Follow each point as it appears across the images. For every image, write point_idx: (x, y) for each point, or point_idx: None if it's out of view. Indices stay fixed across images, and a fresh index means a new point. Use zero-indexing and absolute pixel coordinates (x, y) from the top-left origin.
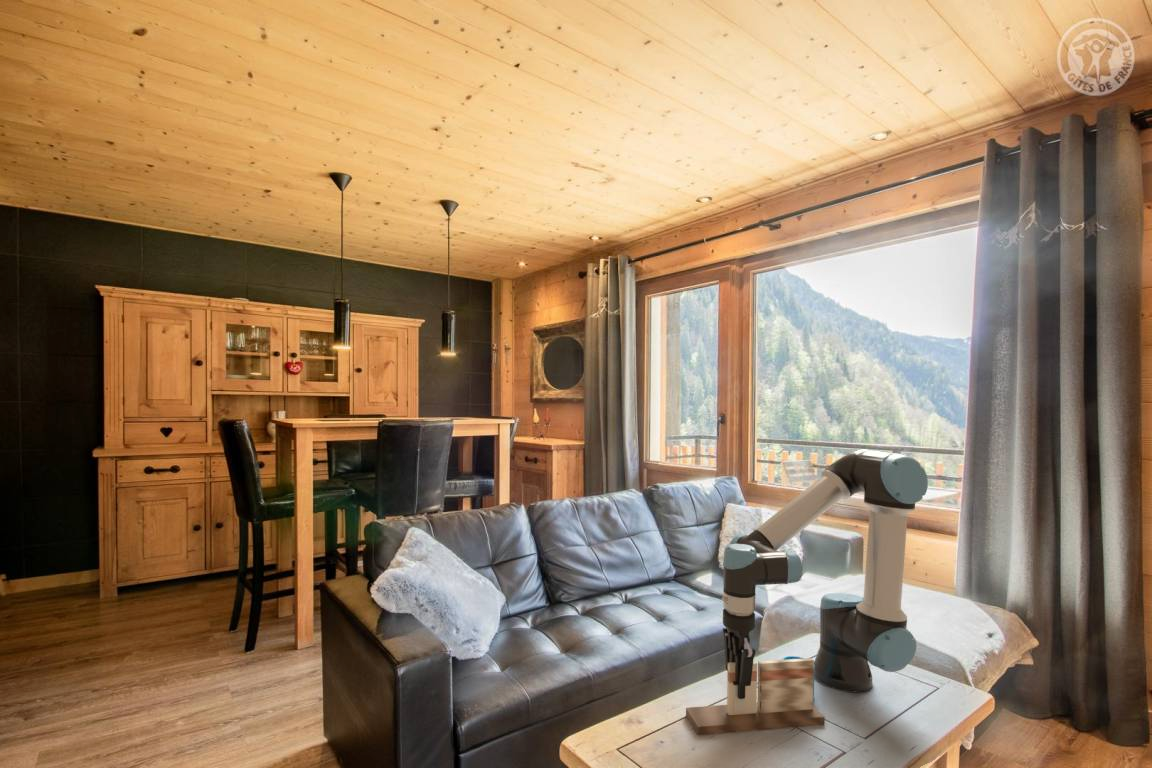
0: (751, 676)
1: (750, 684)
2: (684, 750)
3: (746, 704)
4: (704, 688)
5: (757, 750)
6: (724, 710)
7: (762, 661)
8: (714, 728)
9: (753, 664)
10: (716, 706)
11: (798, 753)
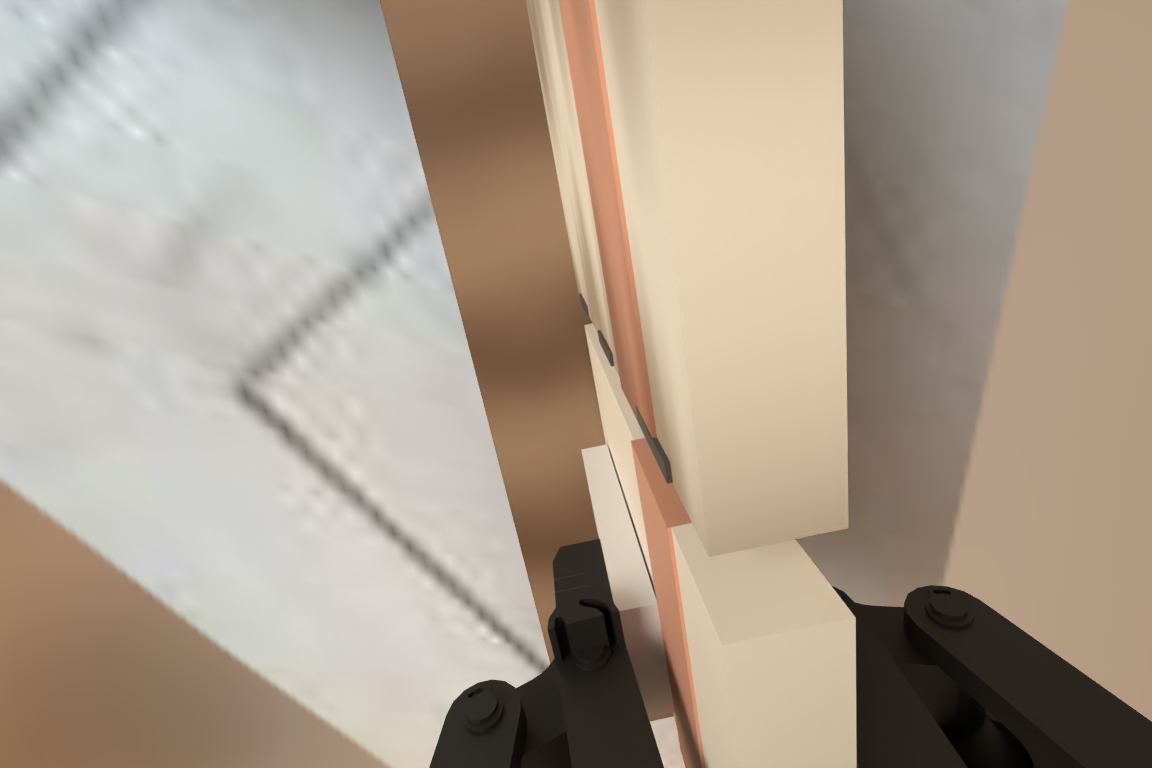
0: (1132, 712)
1: (982, 606)
2: None
3: None
4: (196, 569)
5: (915, 377)
6: (590, 535)
7: (714, 440)
8: None
9: (847, 680)
10: (541, 577)
11: (993, 105)
